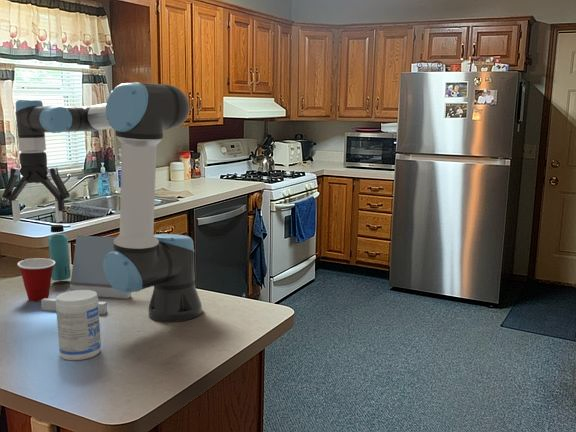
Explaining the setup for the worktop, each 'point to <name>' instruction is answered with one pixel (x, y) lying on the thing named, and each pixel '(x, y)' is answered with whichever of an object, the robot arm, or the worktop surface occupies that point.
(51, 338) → the worktop surface
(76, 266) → the door
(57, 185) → the robot arm
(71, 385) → the worktop surface
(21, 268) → the plastic cup
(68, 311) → the supplement tub
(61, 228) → the beverage bottle
